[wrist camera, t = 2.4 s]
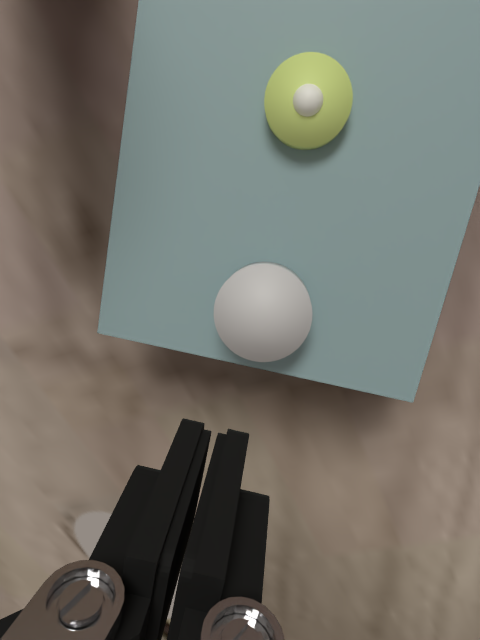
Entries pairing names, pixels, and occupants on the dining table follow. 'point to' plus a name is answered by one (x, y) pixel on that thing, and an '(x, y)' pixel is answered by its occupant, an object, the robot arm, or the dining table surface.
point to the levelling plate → (295, 183)
